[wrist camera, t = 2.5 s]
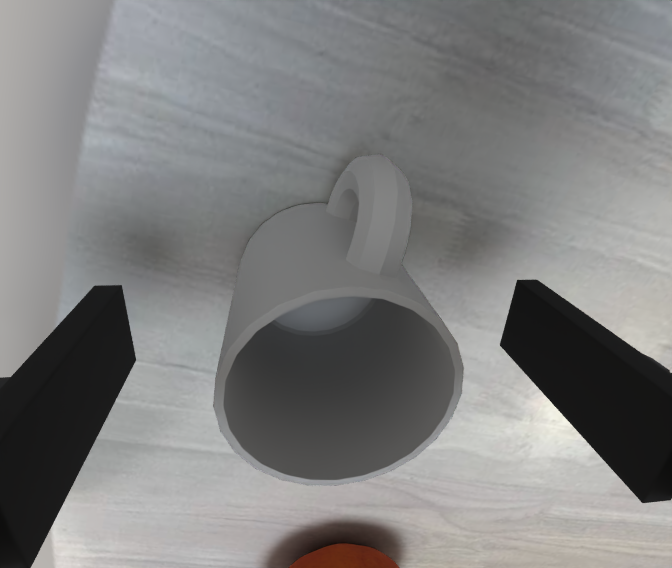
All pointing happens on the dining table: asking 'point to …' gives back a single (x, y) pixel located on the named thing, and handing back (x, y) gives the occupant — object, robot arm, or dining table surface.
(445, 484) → the dining table surface
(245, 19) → the dining table surface
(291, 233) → the cup
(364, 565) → the fruit
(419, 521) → the dining table surface
